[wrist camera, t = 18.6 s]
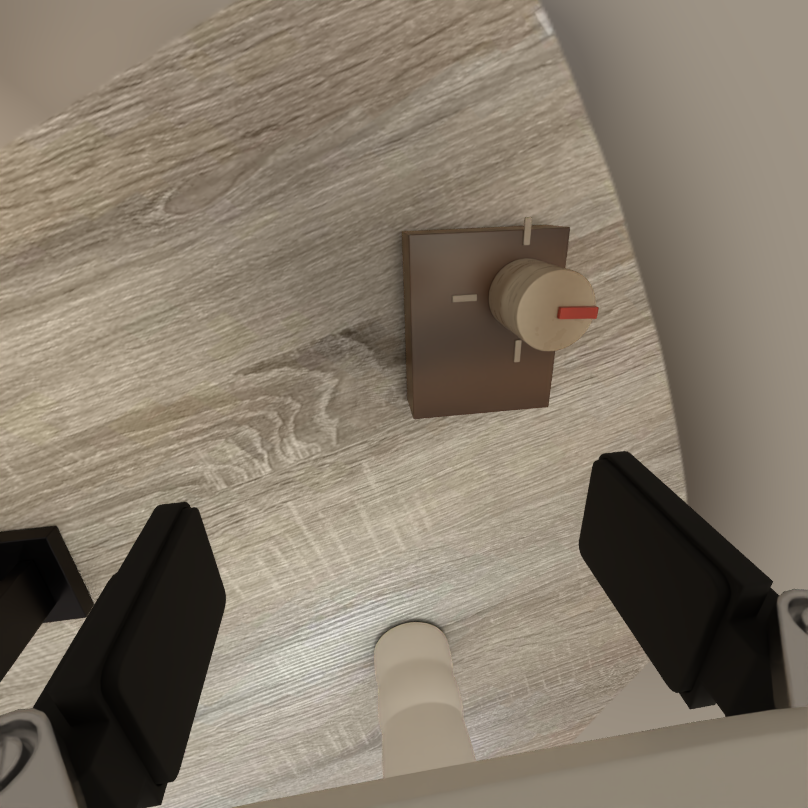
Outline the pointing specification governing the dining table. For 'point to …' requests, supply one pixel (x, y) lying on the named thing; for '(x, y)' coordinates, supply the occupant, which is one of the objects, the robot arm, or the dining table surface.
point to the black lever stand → (35, 588)
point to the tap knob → (542, 303)
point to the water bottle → (419, 702)
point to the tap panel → (471, 320)
